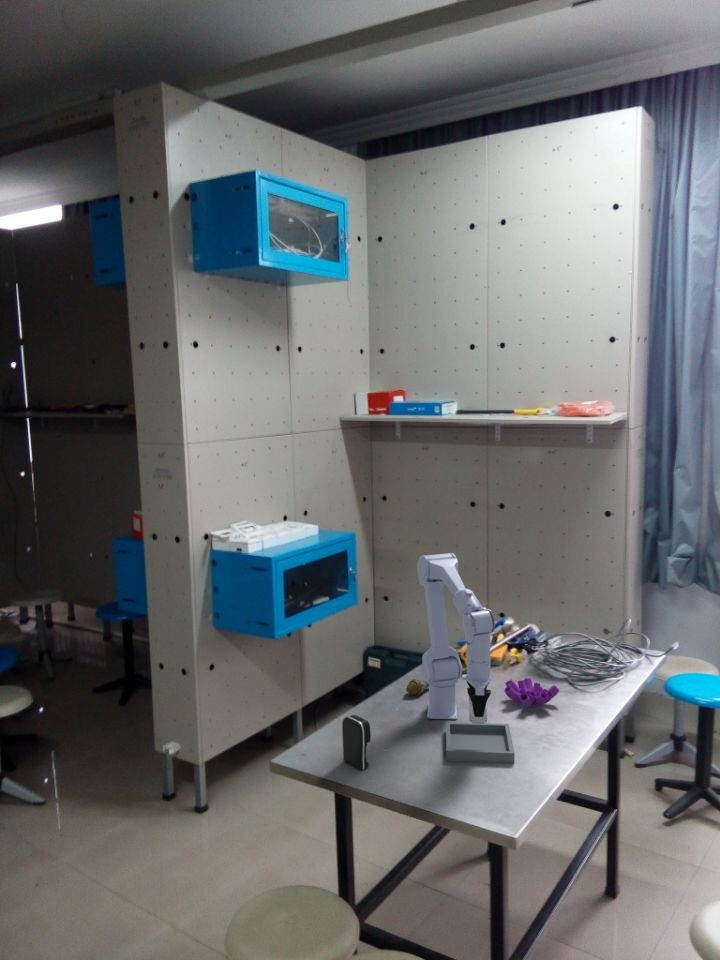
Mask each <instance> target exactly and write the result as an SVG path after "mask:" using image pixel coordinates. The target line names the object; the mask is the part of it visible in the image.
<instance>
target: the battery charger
mask: <svg viewBox="0 0 720 960" xmlns="http://www.w3.org/2000/svg"><path fill="white" fill-rule="evenodd" d="M341 726H342V728H341V729H342V749H343V750H342V751H343V755H342V756H343V757H342V758H343V761H344V762H345V763H347V764H348V765H350V766H352V767H354V768H356V769H357V770H360V771H362V770H364V769H366V768H368V767H369V762H368V760H367V746H368V744H369V743H371V741H372V738H371V737H372V735H371V734H372V733H371V725H370V722H369V721H368V720H367V719H365V718H363V717H361V716H358V715H357V714H352V715H348V716H346V717H343V719H342V725H341Z"/></svg>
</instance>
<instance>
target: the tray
mask: <svg viewBox="0 0 720 960" xmlns="http://www.w3.org/2000/svg"><path fill="white" fill-rule="evenodd" d="M511 735H512V734H511V729H510V725H509V723H489V722H488V723H487V722H485V723H482V724H476V723H472V722H454V721H449V722H447V721H446V722H445V745H446V747H445V748H446V749H445V752H446V755H445V757H446V758H445V760H446V762H465V763H466V762H467V763H469V762H470V763H471V762H472V763H491V764H492V763H494V764H515V749H514V744H513V739H512V736H511Z"/></svg>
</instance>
